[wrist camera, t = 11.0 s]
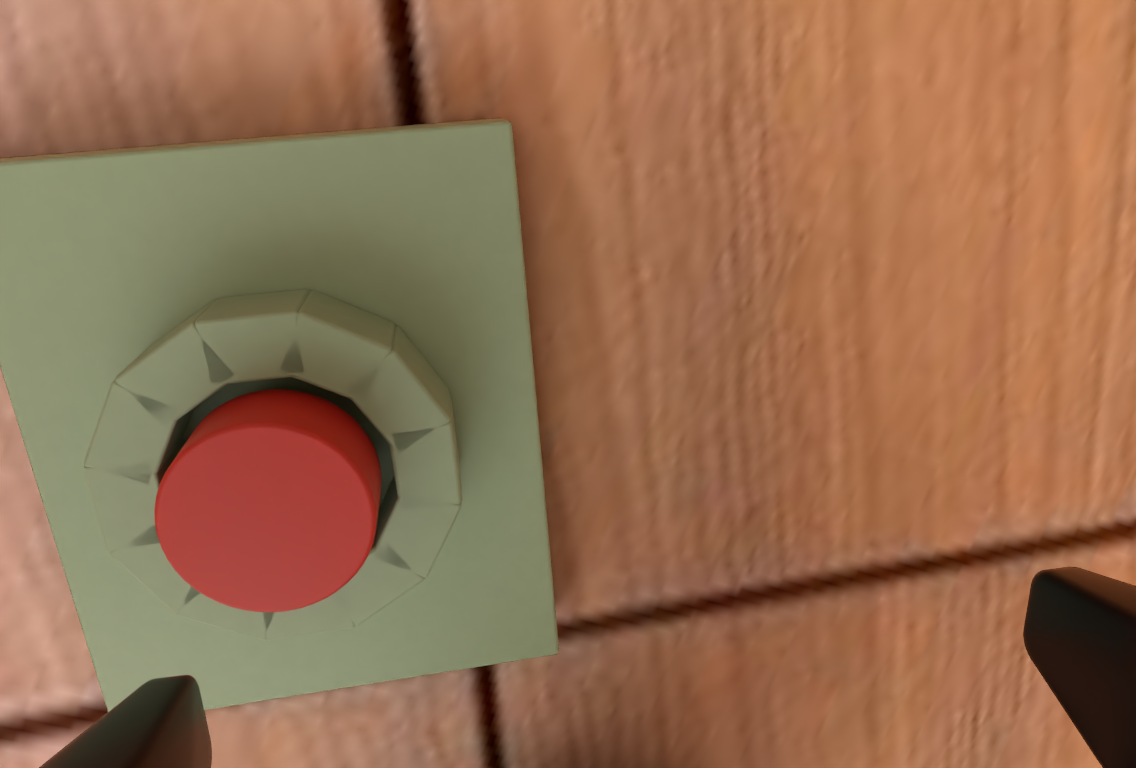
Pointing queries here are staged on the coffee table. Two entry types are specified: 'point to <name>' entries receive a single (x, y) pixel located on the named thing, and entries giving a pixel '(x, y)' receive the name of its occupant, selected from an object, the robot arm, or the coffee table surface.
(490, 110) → the coffee table surface
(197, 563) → the stop button
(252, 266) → the control block
